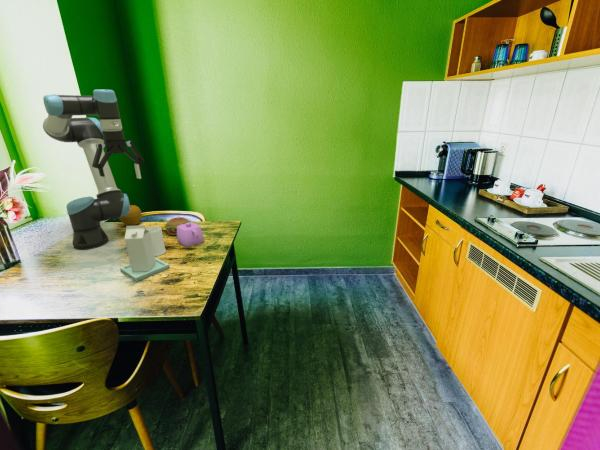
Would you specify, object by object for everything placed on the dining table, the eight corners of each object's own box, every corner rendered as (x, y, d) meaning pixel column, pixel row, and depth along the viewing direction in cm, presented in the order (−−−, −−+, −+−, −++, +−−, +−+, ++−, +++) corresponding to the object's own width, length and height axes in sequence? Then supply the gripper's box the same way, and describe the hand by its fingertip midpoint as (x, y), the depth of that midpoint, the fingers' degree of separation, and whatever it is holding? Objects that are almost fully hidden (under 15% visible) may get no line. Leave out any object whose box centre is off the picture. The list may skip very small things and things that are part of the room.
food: (168, 239, 160) (166, 224, 157) (163, 230, 171) (161, 217, 169) (195, 233, 167) (193, 219, 164) (189, 226, 178) (187, 213, 175)
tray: (120, 271, 128) (119, 267, 127) (153, 259, 138) (152, 255, 137) (136, 282, 119) (135, 278, 119) (169, 268, 130) (168, 264, 129)
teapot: (173, 239, 159) (170, 221, 156) (192, 234, 166) (189, 216, 162) (188, 250, 147) (185, 230, 143) (208, 243, 154) (205, 224, 150)
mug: (140, 260, 137) (135, 235, 133) (137, 253, 144) (132, 230, 139) (168, 253, 144) (163, 229, 139) (163, 247, 150) (159, 224, 146)
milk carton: (139, 264, 132) (129, 223, 125) (156, 263, 132) (147, 222, 126) (132, 272, 125) (121, 229, 118) (149, 271, 126) (140, 228, 119)
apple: (126, 229, 174) (122, 210, 170) (115, 225, 180) (110, 207, 176) (148, 222, 184) (144, 204, 180) (136, 219, 190) (132, 201, 186)
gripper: (81, 132, 114) (95, 187, 122) (146, 129, 132) (155, 177, 140) (74, 131, 119) (88, 185, 126) (138, 128, 137) (147, 175, 144)
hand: (123, 181), depth 133 cm, fingers open, 13 cm apart
